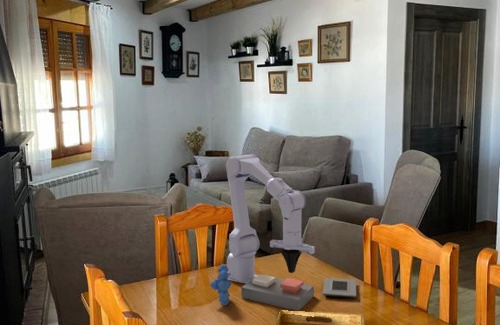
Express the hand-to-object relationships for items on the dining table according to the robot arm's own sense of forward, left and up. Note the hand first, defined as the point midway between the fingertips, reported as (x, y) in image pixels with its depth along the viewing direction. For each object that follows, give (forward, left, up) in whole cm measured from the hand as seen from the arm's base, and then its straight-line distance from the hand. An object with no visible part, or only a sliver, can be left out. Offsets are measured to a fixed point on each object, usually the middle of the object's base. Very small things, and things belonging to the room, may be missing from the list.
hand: (291, 271), depth 157 cm
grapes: (-19, -12, -10) cm, 24 cm away
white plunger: (-10, 0, -9) cm, 14 cm away
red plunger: (0, 0, -9) cm, 9 cm away
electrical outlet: (+11, +14, -10) cm, 20 cm away
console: (-5, 0, -9) cm, 11 cm away
